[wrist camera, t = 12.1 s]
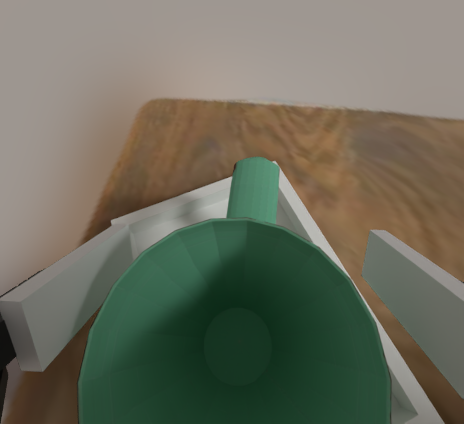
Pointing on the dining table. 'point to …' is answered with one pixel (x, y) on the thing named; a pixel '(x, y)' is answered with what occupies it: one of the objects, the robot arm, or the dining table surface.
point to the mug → (235, 328)
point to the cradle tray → (300, 222)
